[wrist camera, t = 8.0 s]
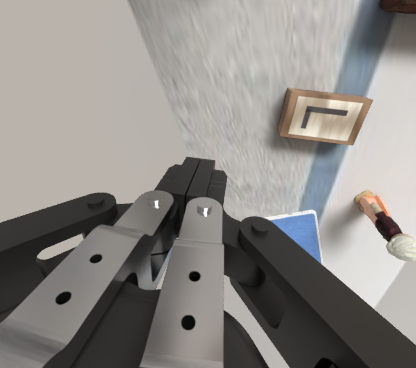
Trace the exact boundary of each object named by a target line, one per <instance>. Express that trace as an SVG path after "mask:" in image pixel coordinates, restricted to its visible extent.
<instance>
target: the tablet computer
mask: <svg viewBox="0 0 416 368" xmlns="http://www.w3.org/2000/svg"><path fill="white" fill-rule="evenodd" d="M265 219H268V220H270V221H271V222H273V223H274V224H275V225H276V226H278V227H279V228H280V229H281V230H282V231H283V232H285V233H286V234H287V235H288V236H289V237H290V238H292V239H293V240H294V241H295V242H296V243H297V244H299V245H300V246H301V247H302V248H303V249H304V250H305V251H307V252H308V253H309V254H310V255H311V256H312V257H314V258H315V259H316V260H317V261H318V262H319V263H321V264H322V265H323V259H322V251H321V244H320V237H319V236H320V235H319V228H318V221H317V216H316V212H315V211H314V210H307V211H303V212H295V213H290V214H283V215H277V216H271V217H265Z"/></svg>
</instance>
